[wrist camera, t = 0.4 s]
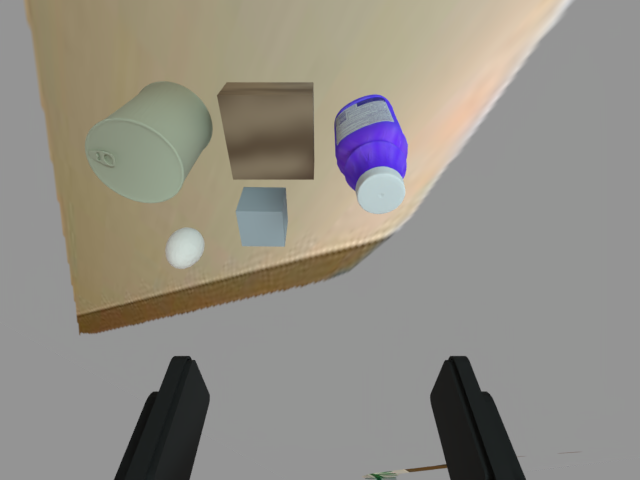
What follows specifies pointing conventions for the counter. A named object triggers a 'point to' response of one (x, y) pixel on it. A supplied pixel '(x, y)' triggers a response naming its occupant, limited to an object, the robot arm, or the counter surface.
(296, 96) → the walnut block
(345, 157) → the bottle
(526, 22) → the counter surface
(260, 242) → the grey cube
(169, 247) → the egg
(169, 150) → the can
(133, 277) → the counter surface
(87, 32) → the counter surface
